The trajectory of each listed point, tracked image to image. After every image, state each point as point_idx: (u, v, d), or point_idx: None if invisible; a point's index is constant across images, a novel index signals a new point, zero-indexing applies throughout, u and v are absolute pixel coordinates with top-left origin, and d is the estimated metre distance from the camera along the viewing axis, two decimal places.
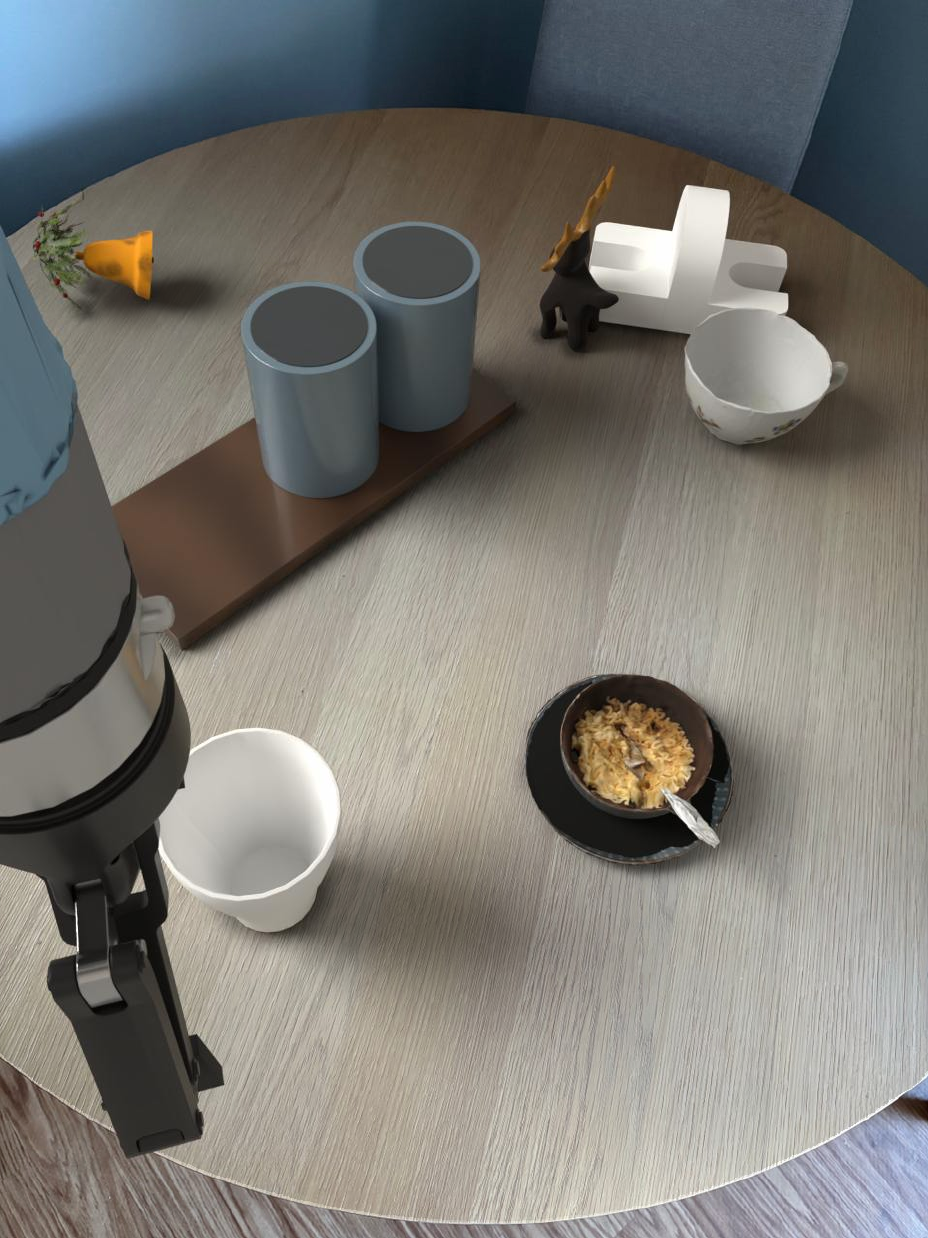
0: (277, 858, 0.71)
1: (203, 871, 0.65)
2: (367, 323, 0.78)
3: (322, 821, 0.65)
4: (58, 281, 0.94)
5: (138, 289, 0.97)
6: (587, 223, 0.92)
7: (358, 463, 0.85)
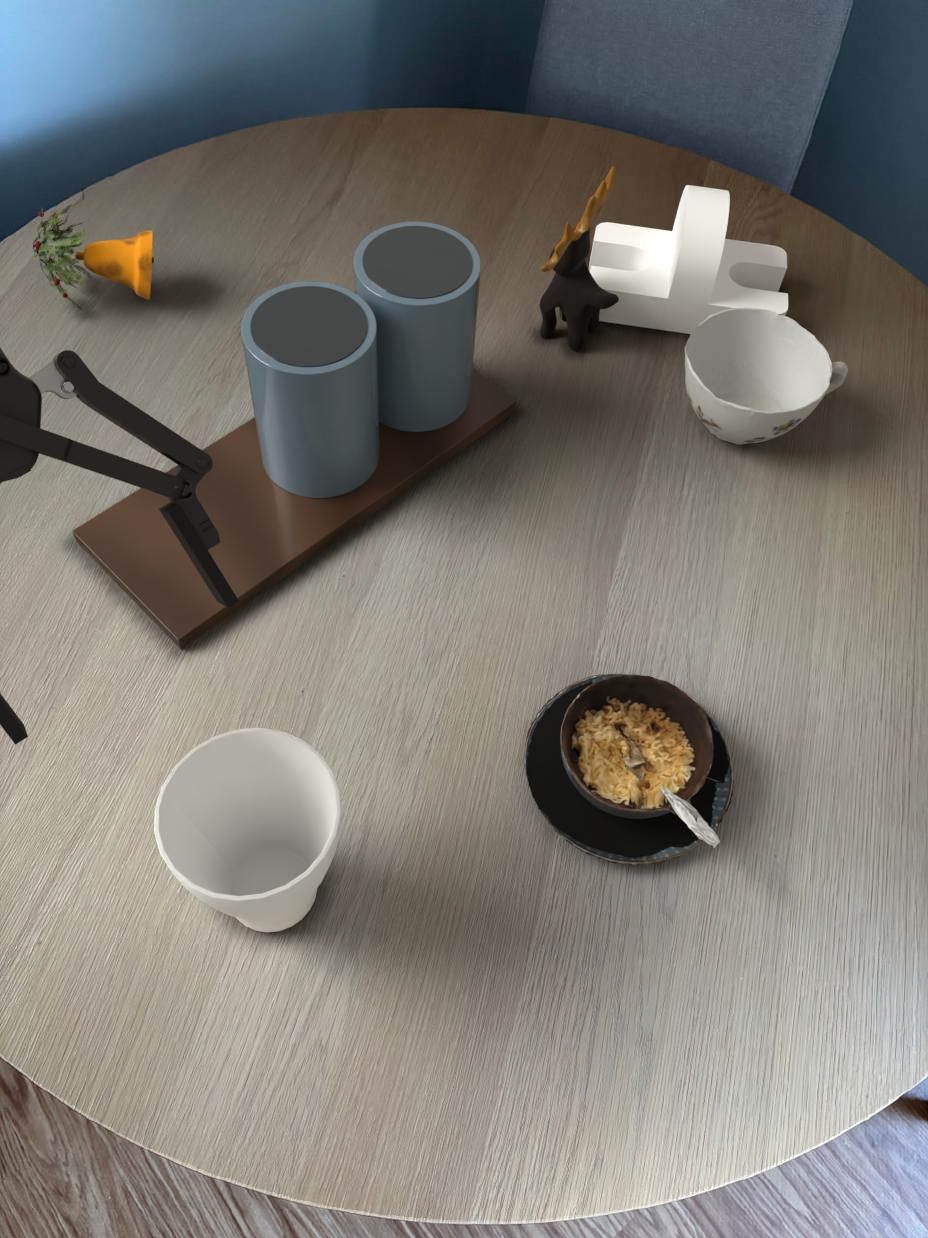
0: (277, 858, 0.71)
1: (203, 871, 0.65)
2: (367, 323, 0.78)
3: (322, 820, 0.65)
4: (58, 281, 0.94)
5: (138, 289, 0.97)
6: (587, 223, 0.92)
7: (358, 463, 0.85)
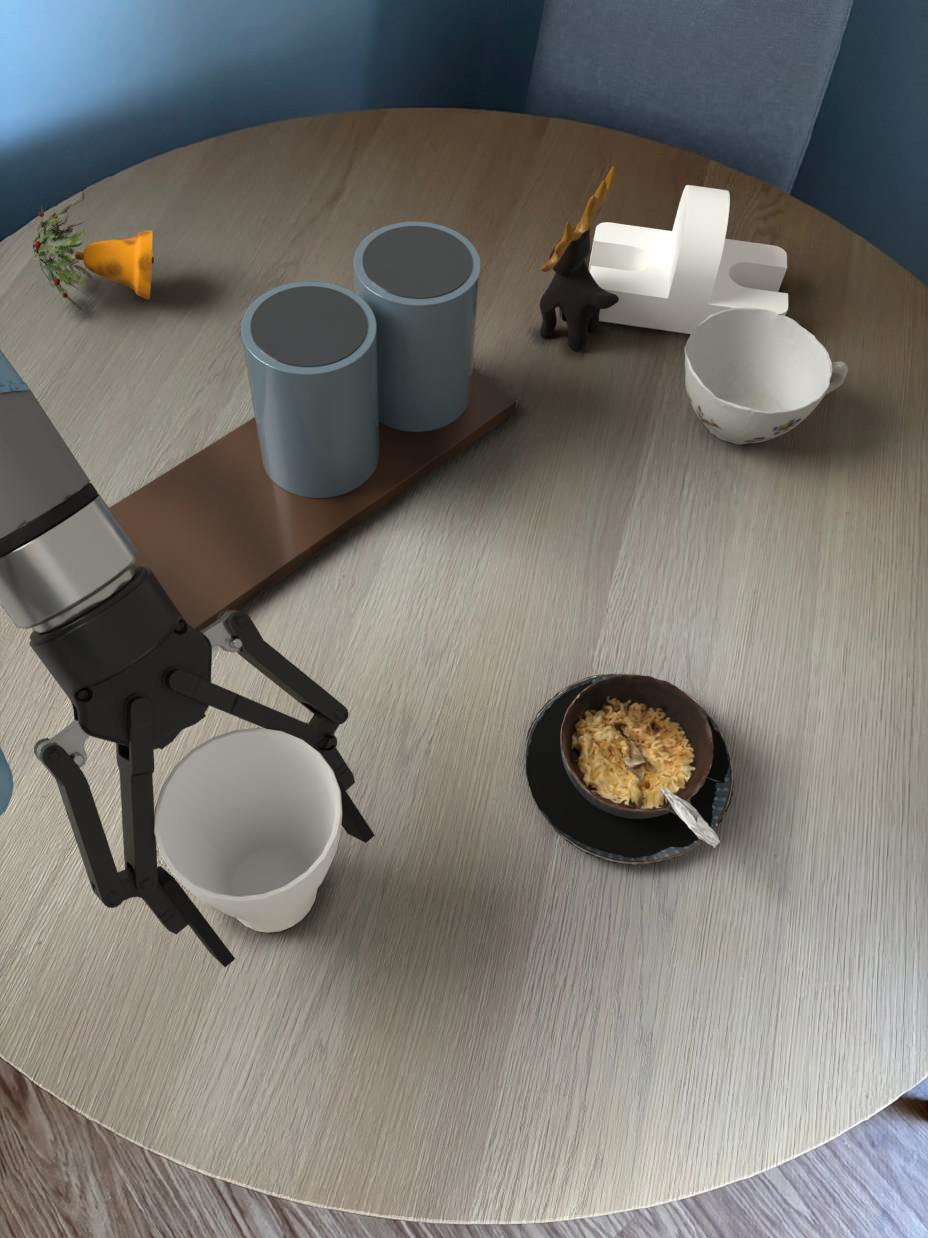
0: (277, 858, 0.71)
1: (203, 871, 0.65)
2: (367, 323, 0.78)
3: (322, 821, 0.65)
4: (58, 281, 0.94)
5: (138, 289, 0.97)
6: (587, 223, 0.92)
7: (358, 463, 0.85)
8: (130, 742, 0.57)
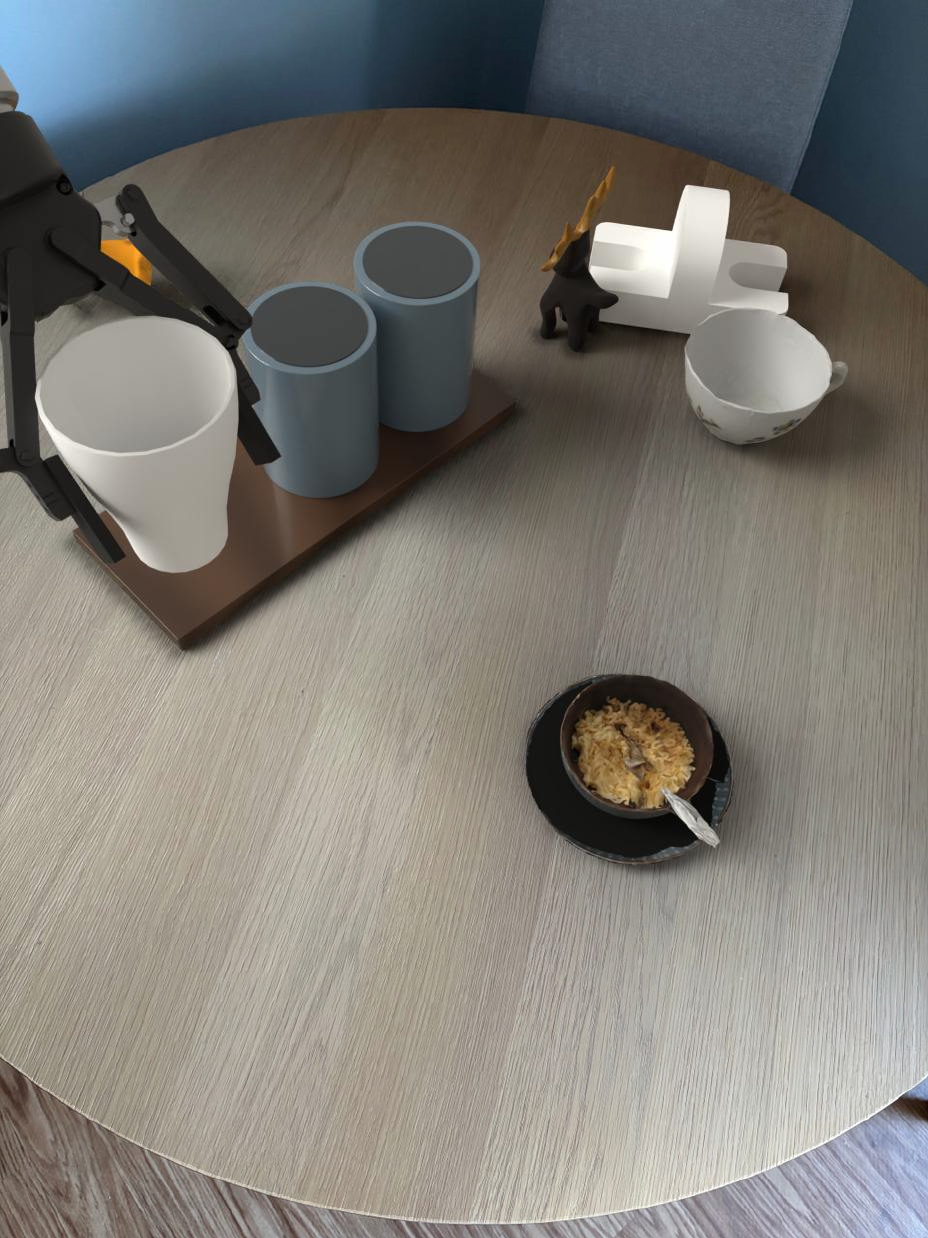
0: None
1: None
2: (367, 323, 0.78)
3: None
4: None
5: None
6: (587, 223, 0.92)
7: (358, 463, 0.85)
8: (8, 295, 0.54)
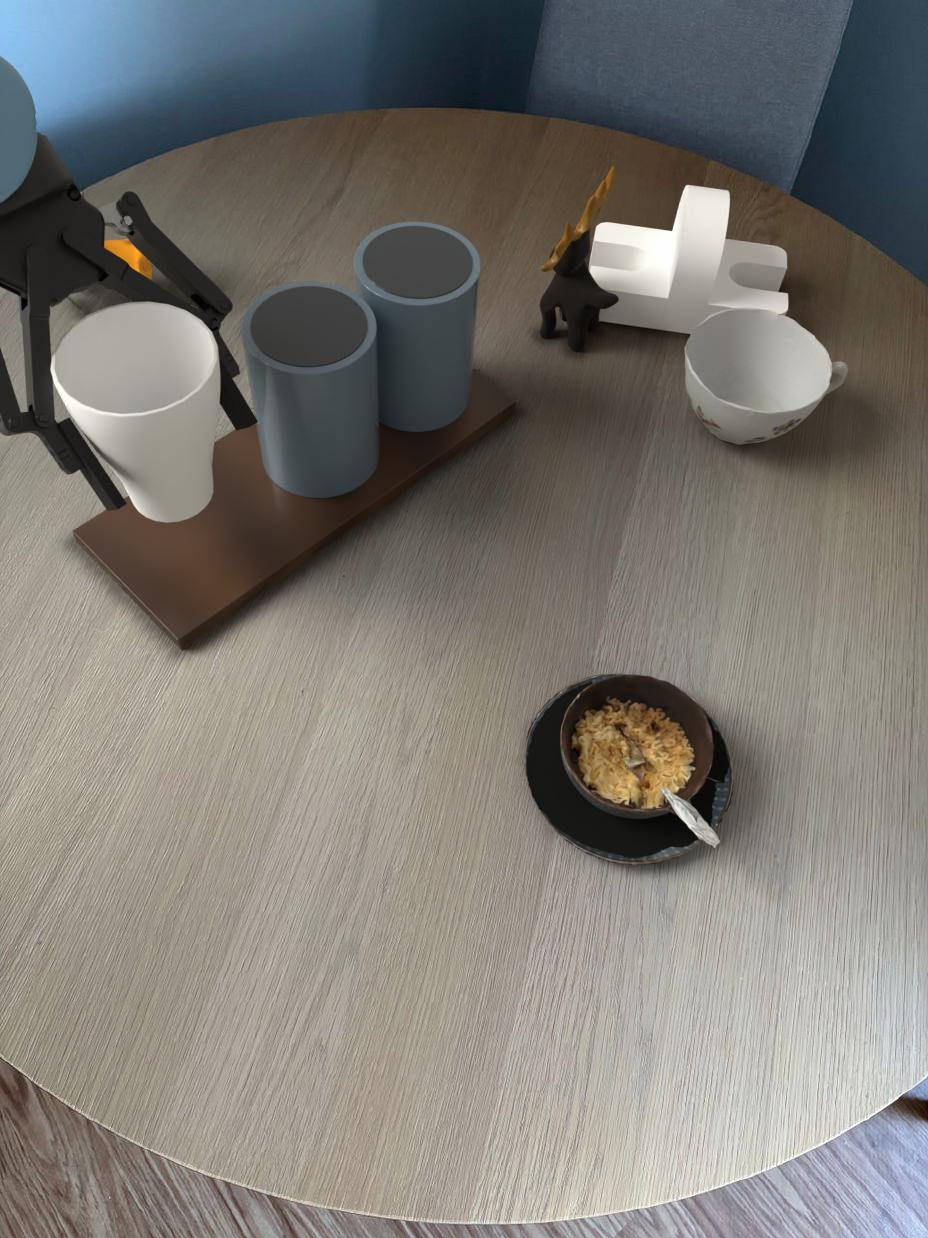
0: None
1: None
2: (367, 323, 0.78)
3: None
4: None
5: None
6: (587, 223, 0.92)
7: (358, 463, 0.85)
8: (28, 284, 0.65)
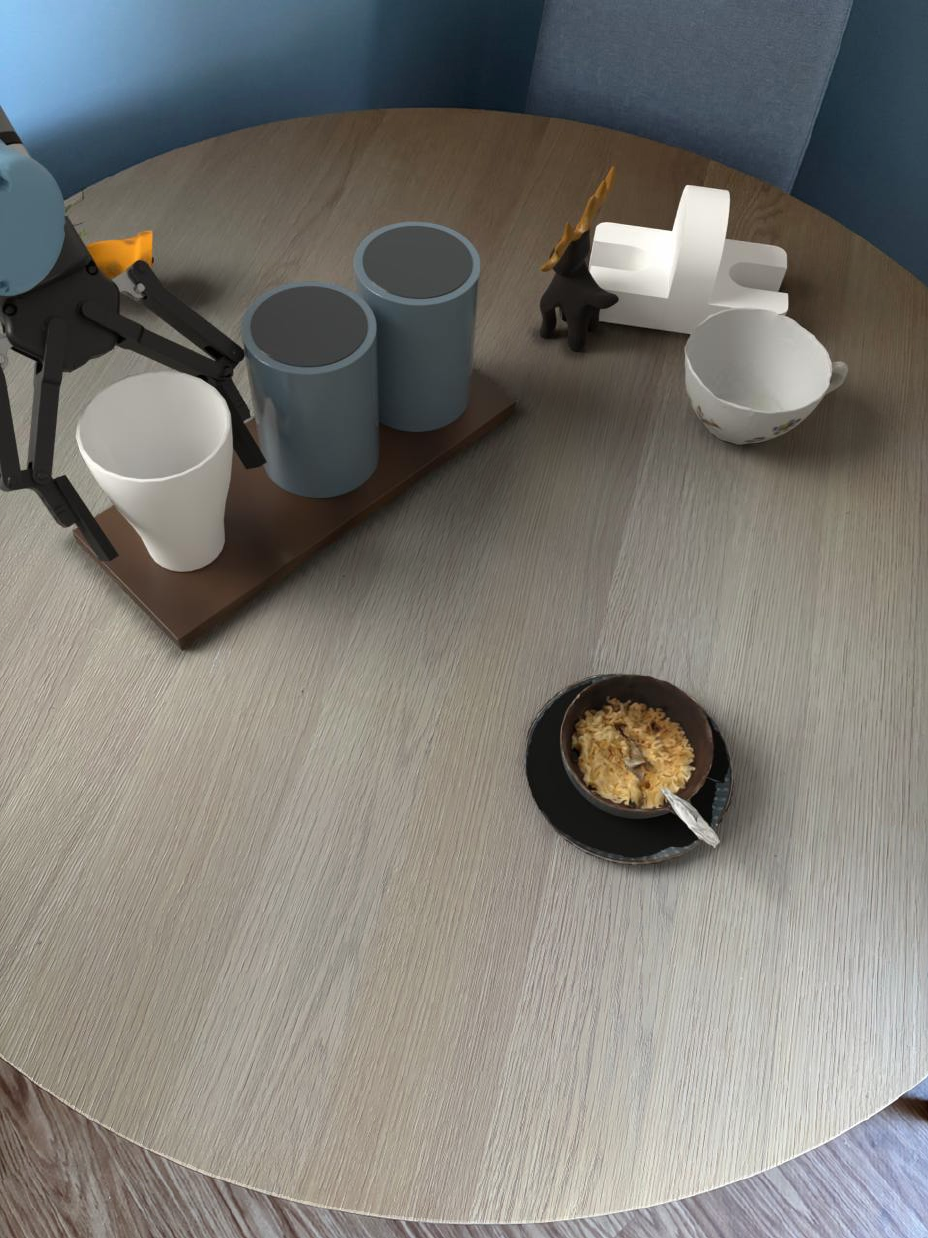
0: None
1: None
2: (367, 323, 0.78)
3: None
4: None
5: None
6: (587, 223, 0.92)
7: (358, 463, 0.85)
8: (45, 352, 0.70)
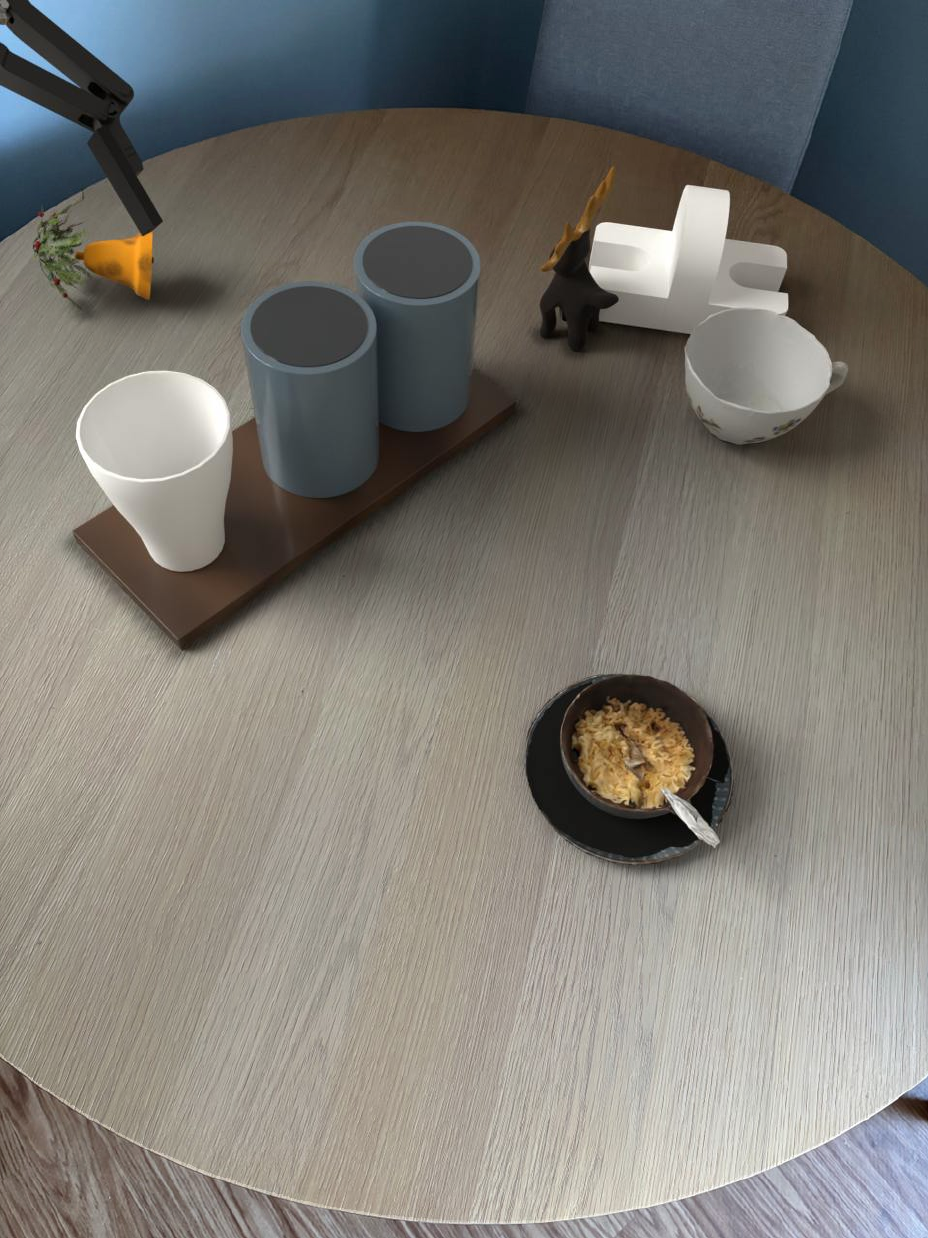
0: None
1: None
2: (367, 323, 0.78)
3: None
4: (58, 281, 0.94)
5: (138, 289, 0.97)
6: (587, 223, 0.92)
7: (358, 463, 0.85)
8: None
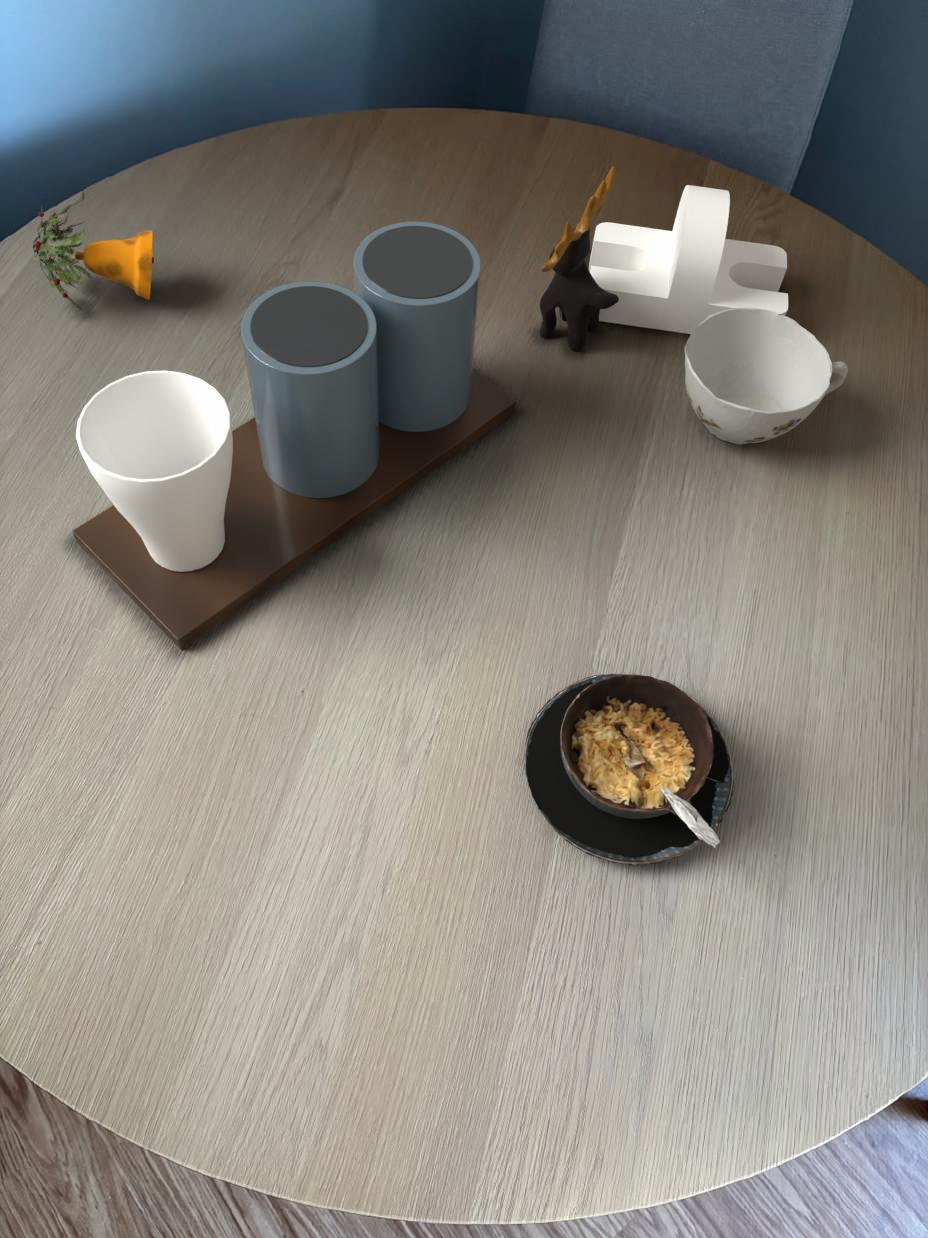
0: None
1: None
2: (367, 323, 0.78)
3: None
4: (58, 281, 0.94)
5: (138, 289, 0.97)
6: (587, 223, 0.92)
7: (358, 463, 0.85)
8: None
